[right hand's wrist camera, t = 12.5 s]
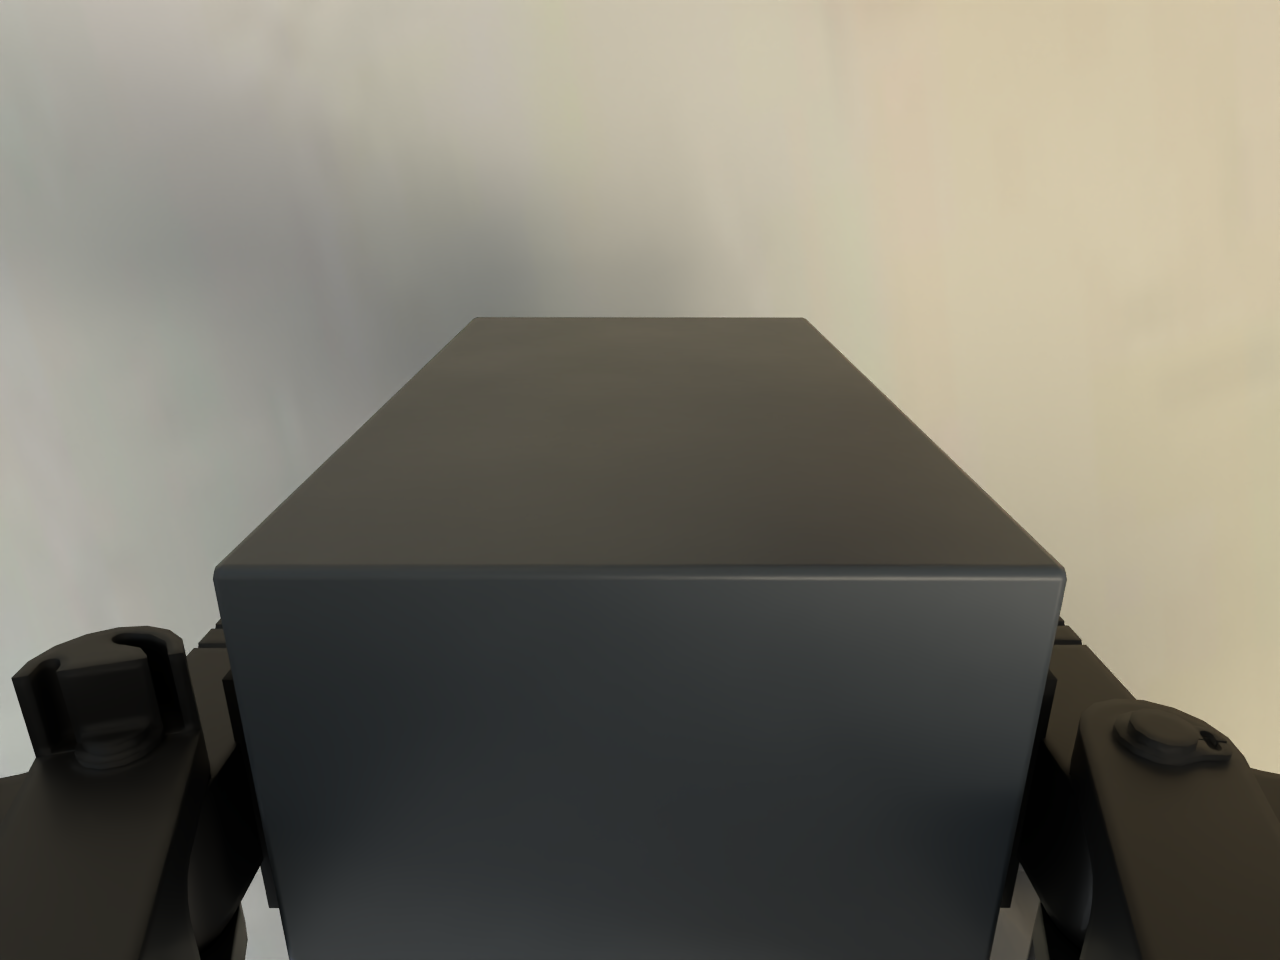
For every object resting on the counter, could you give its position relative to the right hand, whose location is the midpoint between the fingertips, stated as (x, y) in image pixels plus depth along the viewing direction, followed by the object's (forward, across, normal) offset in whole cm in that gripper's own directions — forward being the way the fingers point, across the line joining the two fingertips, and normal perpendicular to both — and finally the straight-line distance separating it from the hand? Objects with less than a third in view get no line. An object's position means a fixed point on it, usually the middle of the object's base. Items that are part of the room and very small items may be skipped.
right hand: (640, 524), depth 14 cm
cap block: (+2, 0, 0) cm, 2 cm away
